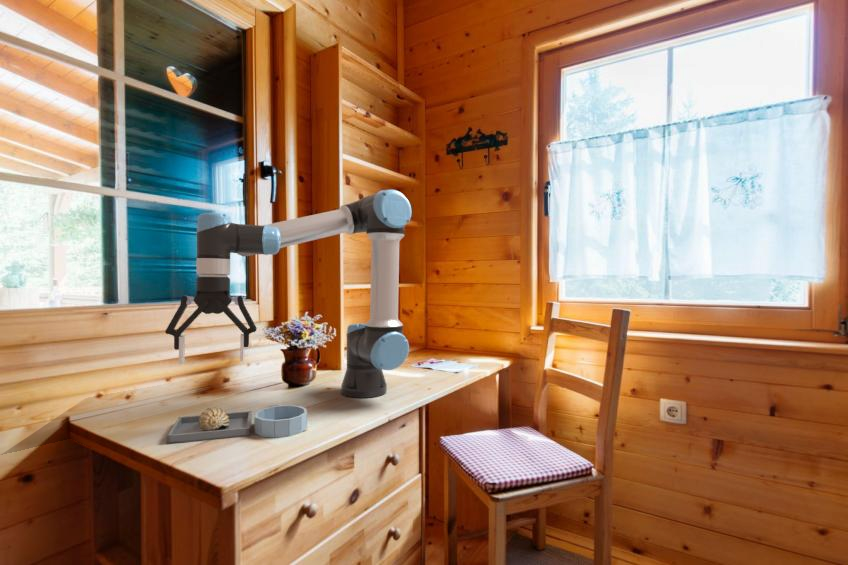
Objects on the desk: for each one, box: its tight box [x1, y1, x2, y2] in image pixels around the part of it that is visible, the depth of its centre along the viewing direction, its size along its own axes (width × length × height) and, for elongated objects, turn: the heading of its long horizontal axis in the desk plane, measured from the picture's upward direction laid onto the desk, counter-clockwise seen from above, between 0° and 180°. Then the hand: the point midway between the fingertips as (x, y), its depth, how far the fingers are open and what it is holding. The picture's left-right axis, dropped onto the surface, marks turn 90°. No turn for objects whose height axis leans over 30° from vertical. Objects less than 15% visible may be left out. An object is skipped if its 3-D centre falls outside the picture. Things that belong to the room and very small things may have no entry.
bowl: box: [254, 404, 308, 438], centre depth 109 cm, size 12×12×4 cm
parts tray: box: [166, 410, 253, 445], centre depth 108 cm, size 17×14×2 cm
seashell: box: [199, 407, 230, 431], centre depth 108 cm, size 8×6×10 cm
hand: (212, 361), depth 108 cm, fingers open, 13 cm apart
